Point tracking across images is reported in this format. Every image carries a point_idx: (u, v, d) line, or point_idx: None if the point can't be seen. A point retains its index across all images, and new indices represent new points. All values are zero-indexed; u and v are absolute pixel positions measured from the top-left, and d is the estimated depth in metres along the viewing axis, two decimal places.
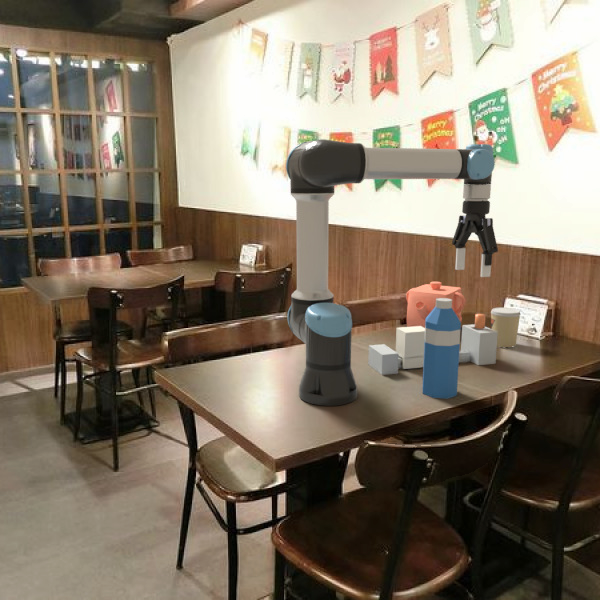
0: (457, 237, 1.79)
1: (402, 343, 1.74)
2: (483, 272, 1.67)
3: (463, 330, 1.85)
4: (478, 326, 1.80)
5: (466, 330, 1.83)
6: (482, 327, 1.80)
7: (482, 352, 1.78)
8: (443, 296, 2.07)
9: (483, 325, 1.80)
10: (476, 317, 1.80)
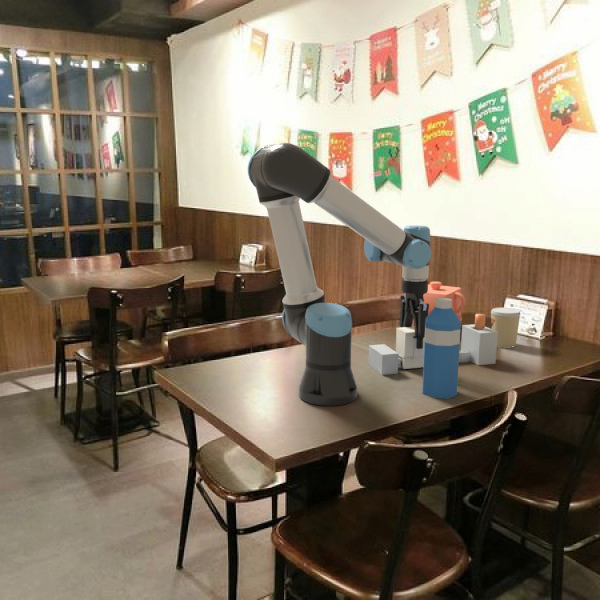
0: (403, 318, 1.80)
1: (402, 343, 1.74)
2: (415, 354, 1.73)
3: (463, 330, 1.85)
4: (478, 326, 1.80)
5: (466, 330, 1.83)
6: (482, 327, 1.80)
7: (482, 352, 1.78)
8: (443, 296, 2.07)
9: (483, 325, 1.80)
10: (476, 317, 1.80)
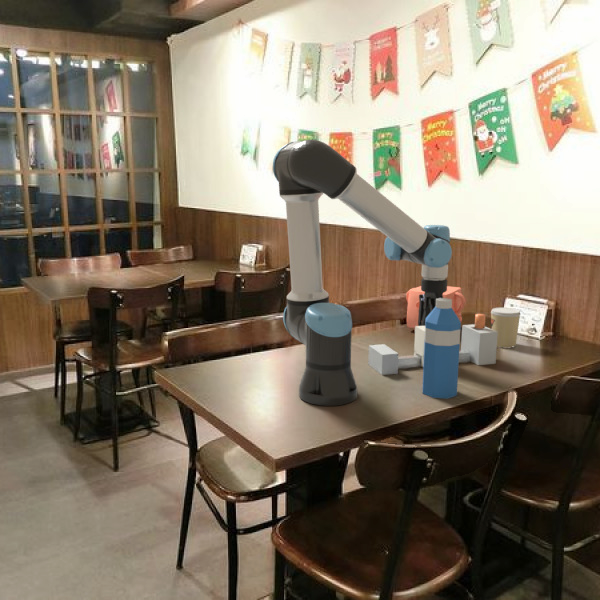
0: (421, 317, 1.81)
1: (421, 341, 1.75)
2: None
3: (463, 330, 1.85)
4: (478, 326, 1.80)
5: (466, 330, 1.83)
6: (482, 327, 1.80)
7: (482, 352, 1.78)
8: (443, 296, 2.07)
9: (483, 325, 1.80)
10: (476, 317, 1.80)
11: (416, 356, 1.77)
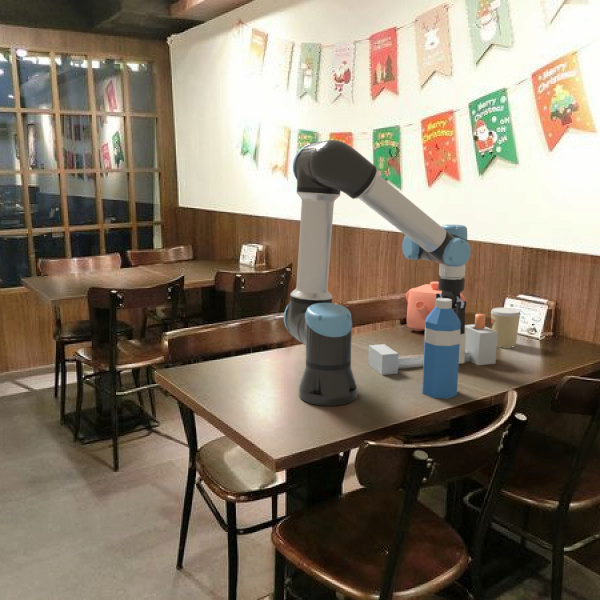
0: None
1: None
2: None
3: None
4: (478, 326, 1.80)
5: (466, 330, 1.83)
6: (482, 327, 1.80)
7: (482, 352, 1.78)
8: None
9: (483, 325, 1.80)
10: (476, 317, 1.80)
11: (416, 356, 1.77)
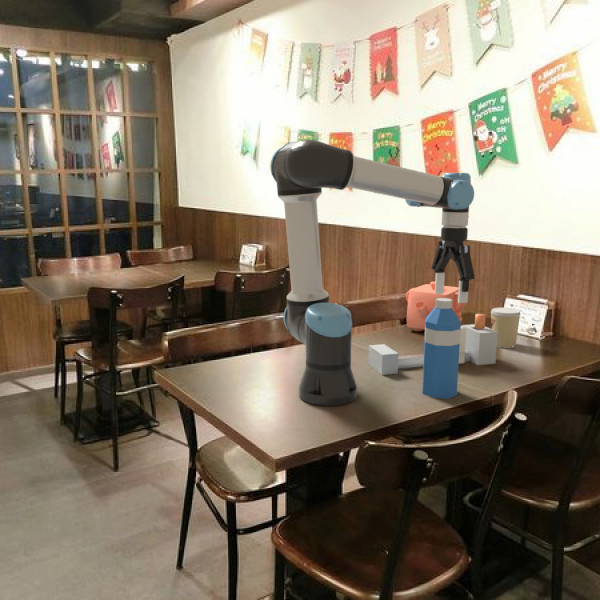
0: (436, 262, 1.82)
1: None
2: (460, 298, 1.69)
3: None
4: (478, 326, 1.80)
5: (466, 330, 1.83)
6: (482, 327, 1.80)
7: (482, 352, 1.78)
8: (443, 296, 2.07)
9: (483, 325, 1.80)
10: (476, 317, 1.80)
11: (416, 356, 1.77)
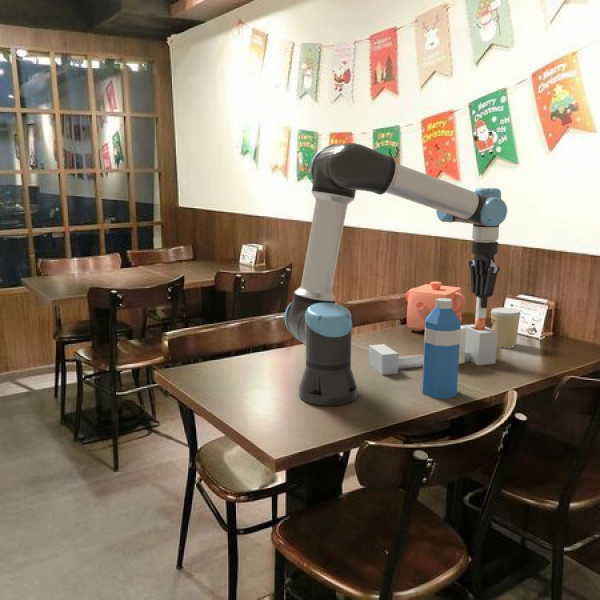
0: (474, 283, 1.82)
1: None
2: (479, 314, 1.80)
3: None
4: None
5: (466, 330, 1.83)
6: None
7: (482, 352, 1.78)
8: (443, 296, 2.07)
9: (483, 329, 1.80)
10: (476, 321, 1.81)
11: (416, 356, 1.77)
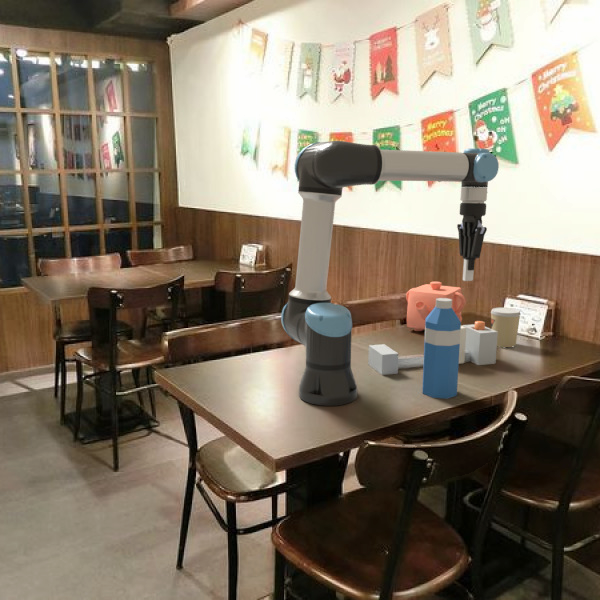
0: (462, 245, 1.81)
1: None
2: (466, 276, 1.79)
3: None
4: None
5: (466, 330, 1.83)
6: None
7: (482, 352, 1.78)
8: (443, 296, 2.07)
9: None
10: (476, 324, 1.81)
11: (416, 356, 1.77)
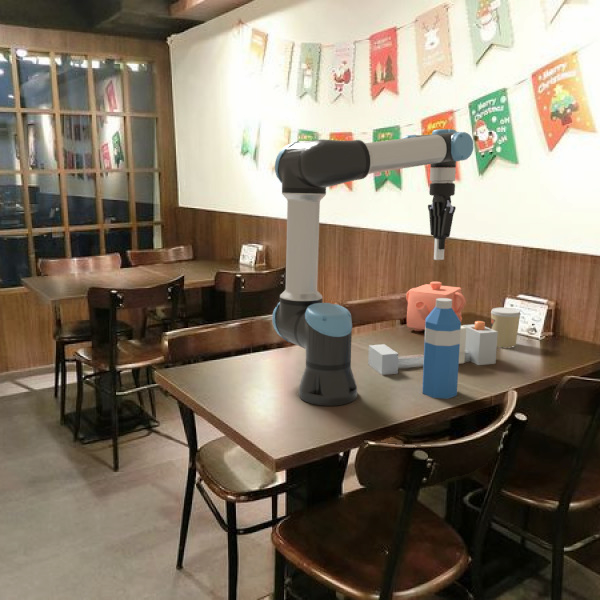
0: (433, 225, 1.85)
1: None
2: (437, 255, 1.83)
3: None
4: None
5: (466, 330, 1.83)
6: None
7: (482, 352, 1.78)
8: (443, 296, 2.07)
9: None
10: (476, 324, 1.81)
11: (416, 356, 1.77)
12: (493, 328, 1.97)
